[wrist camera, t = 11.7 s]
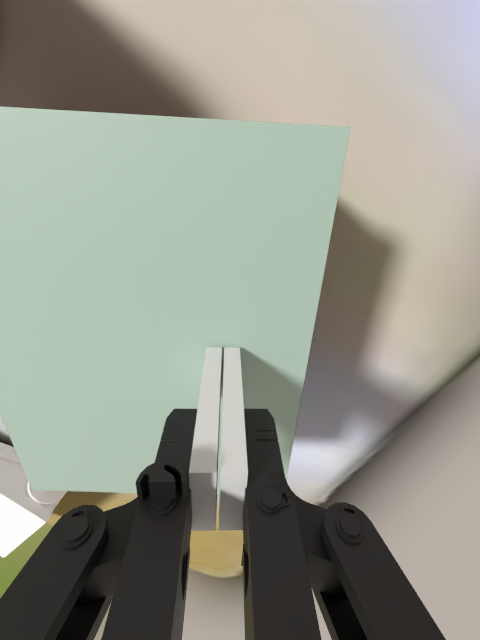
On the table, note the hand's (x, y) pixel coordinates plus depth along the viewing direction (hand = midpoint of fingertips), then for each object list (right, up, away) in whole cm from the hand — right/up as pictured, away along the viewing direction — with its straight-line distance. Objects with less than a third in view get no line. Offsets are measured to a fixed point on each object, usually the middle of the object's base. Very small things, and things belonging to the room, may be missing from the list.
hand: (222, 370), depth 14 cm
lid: (-4, +1, +1) cm, 4 cm away
